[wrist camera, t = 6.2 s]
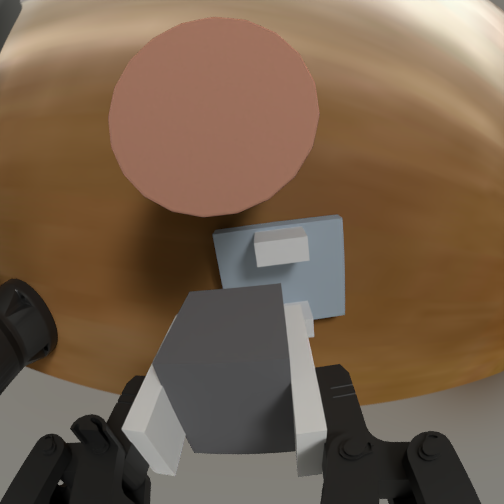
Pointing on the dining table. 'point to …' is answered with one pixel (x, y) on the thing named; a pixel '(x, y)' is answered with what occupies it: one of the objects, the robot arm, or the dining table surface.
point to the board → (290, 274)
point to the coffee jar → (213, 117)
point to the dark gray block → (230, 371)
